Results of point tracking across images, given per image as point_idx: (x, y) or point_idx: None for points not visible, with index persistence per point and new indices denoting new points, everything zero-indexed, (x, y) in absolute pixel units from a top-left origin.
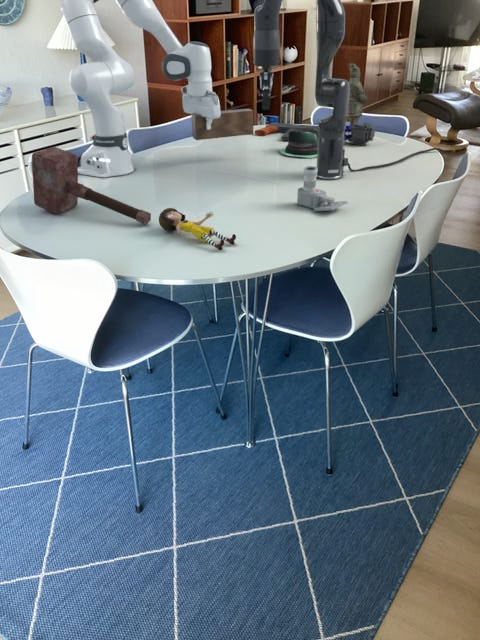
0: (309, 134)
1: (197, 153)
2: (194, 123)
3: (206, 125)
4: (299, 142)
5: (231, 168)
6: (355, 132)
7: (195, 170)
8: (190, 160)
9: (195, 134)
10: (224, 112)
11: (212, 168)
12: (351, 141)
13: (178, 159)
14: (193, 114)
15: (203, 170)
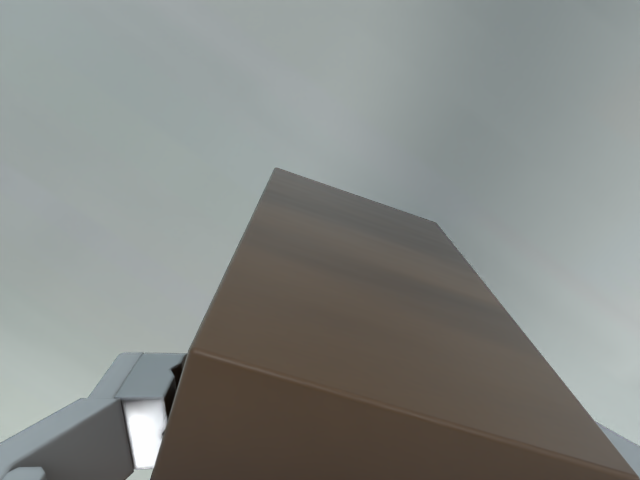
0: None
1: (596, 339)
2: (299, 260)
3: (112, 388)
4: None
5: (94, 277)
6: None
7: (209, 42)
8: (486, 193)
9: (286, 189)
10: None
11: (176, 180)
12: None
13: (590, 139)
14: (456, 456)
15: (168, 93)
